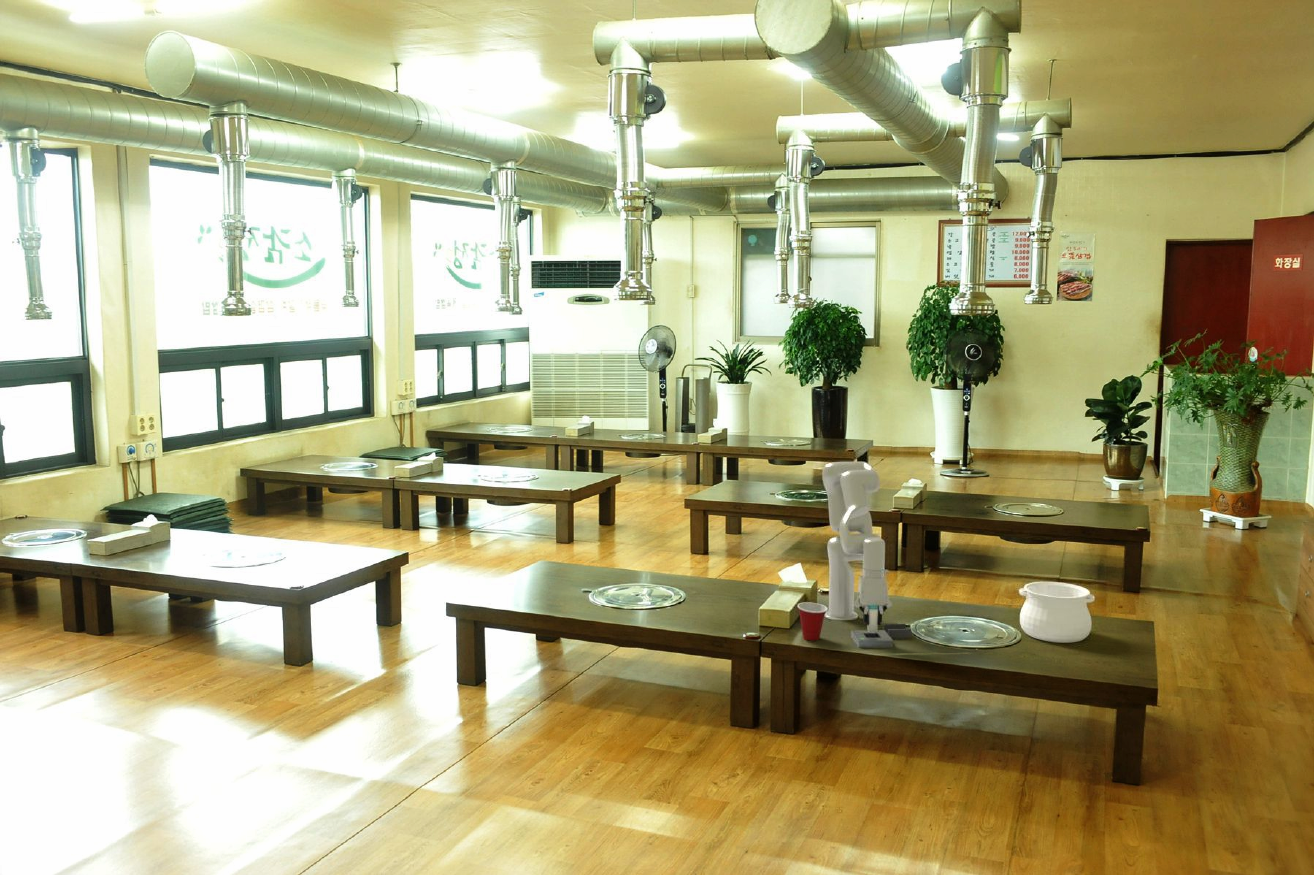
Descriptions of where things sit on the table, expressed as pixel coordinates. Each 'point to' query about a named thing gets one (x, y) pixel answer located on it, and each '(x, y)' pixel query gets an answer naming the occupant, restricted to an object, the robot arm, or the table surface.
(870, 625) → the white cylinder
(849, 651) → the table surface
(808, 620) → the plastic cup
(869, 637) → the port
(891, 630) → the holster
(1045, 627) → the pot
